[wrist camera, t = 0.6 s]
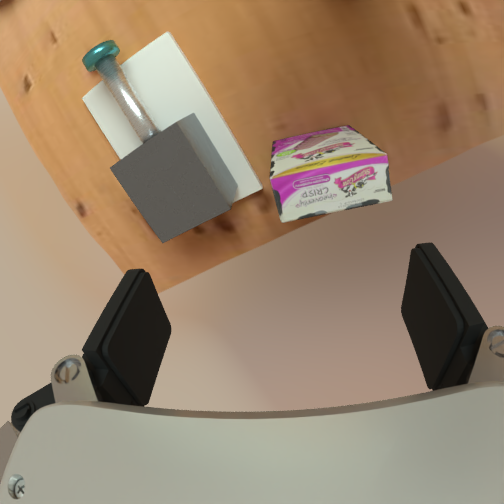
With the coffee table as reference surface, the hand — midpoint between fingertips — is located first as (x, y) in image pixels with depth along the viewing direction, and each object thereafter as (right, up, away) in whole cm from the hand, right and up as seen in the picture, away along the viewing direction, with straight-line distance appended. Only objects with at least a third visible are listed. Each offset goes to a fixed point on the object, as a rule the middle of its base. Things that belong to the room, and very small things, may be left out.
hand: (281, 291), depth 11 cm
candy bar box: (+7, +16, +30) cm, 35 cm away
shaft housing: (-10, +13, +31) cm, 36 cm away
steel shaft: (-15, +19, +26) cm, 36 cm away
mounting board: (-13, +18, +30) cm, 37 cm away
